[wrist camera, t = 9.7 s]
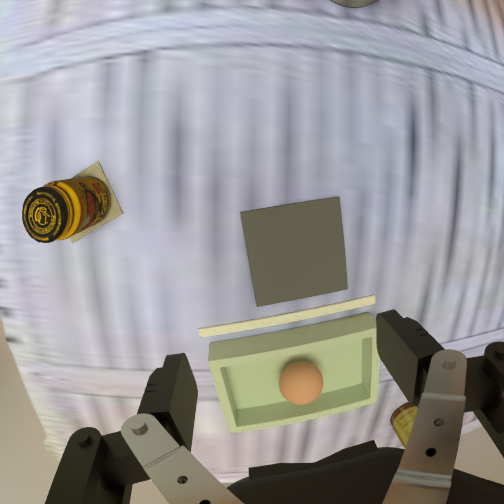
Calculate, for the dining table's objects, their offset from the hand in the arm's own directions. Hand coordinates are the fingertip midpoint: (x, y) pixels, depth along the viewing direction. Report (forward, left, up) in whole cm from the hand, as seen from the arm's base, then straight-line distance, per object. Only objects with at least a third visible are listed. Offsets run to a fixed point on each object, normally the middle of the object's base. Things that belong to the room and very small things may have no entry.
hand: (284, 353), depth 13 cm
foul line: (-3, +12, -27) cm, 30 cm away
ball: (-3, +21, -26) cm, 34 cm away
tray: (-3, +21, -27) cm, 34 cm away
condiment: (+20, -7, -27) cm, 34 cm away
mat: (-5, +4, -27) cm, 28 cm away
